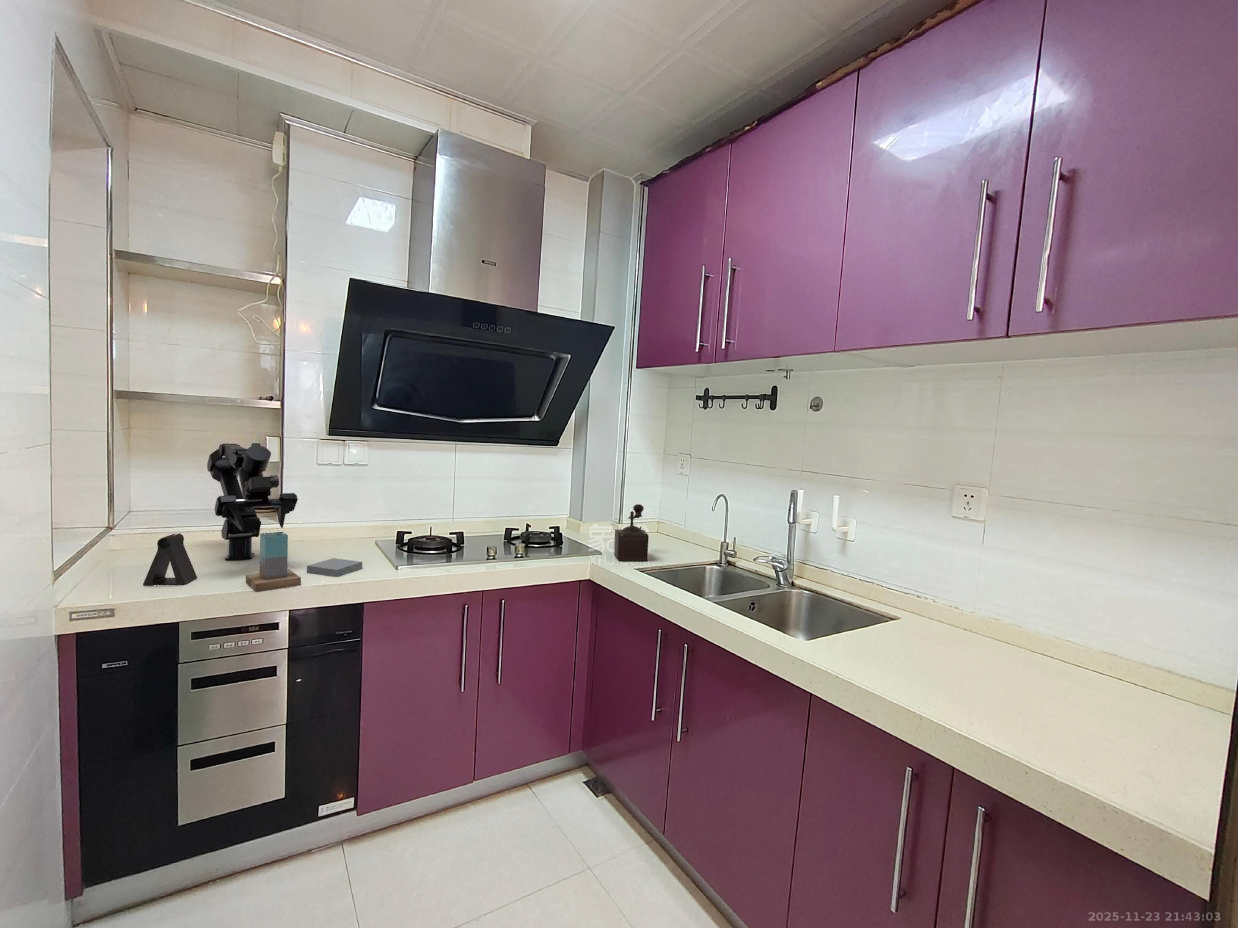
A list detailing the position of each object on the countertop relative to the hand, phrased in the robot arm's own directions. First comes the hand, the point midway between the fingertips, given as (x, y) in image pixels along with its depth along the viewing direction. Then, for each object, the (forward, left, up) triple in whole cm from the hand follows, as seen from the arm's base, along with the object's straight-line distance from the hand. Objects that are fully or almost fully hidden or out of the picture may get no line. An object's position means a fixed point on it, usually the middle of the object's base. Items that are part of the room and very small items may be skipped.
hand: (262, 528), depth 148 cm
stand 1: (+10, +4, -13) cm, 17 cm away
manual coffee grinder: (+4, +111, -13) cm, 111 cm away
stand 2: (0, +18, -13) cm, 22 cm away
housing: (+10, +4, -11) cm, 15 cm away
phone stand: (+2, -19, -13) cm, 23 cm away
